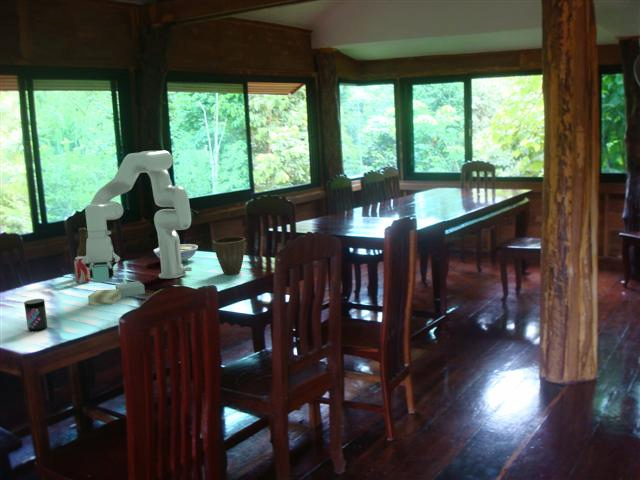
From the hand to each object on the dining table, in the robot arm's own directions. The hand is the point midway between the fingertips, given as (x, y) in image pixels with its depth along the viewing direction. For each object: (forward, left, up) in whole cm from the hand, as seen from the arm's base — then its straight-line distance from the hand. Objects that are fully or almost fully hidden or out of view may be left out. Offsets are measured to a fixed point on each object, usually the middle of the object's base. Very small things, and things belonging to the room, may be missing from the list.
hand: (102, 277), depth 279 cm
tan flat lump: (0, 0, -10) cm, 10 cm away
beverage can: (+19, -40, -10) cm, 46 cm away
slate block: (-8, -11, -10) cm, 17 cm away
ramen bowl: (-20, -74, -10) cm, 77 cm away
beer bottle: (+20, -52, -10) cm, 57 cm away
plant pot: (-50, -36, -10) cm, 63 cm away
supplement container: (+16, +35, -10) cm, 40 cm away
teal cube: (0, 0, -1) cm, 1 cm away
